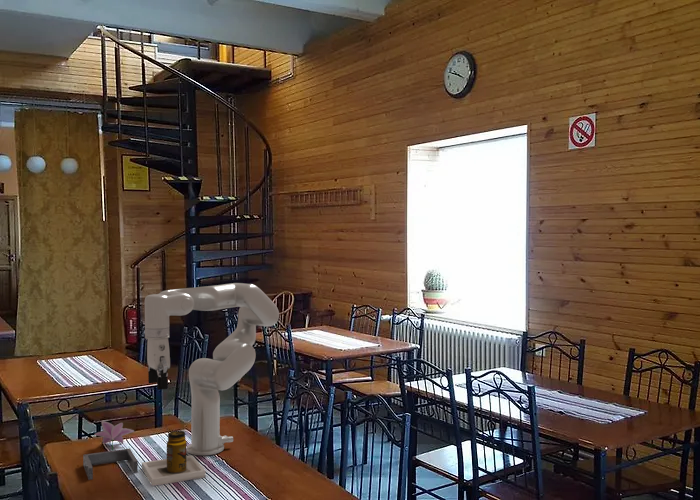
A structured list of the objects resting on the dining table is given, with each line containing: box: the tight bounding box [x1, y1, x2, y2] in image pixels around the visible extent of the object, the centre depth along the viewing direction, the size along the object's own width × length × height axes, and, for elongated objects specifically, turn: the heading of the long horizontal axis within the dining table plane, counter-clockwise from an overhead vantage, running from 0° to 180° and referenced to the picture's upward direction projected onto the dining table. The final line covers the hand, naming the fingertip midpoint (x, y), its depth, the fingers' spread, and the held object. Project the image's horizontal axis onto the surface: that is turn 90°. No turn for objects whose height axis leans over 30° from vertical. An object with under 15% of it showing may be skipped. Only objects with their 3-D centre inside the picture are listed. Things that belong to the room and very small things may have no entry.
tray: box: [141, 454, 207, 487], centre depth 209 cm, size 16×16×2 cm
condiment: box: [157, 430, 190, 476], centre depth 209 cm, size 7×8×12 cm
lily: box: [93, 420, 135, 451], centre depth 234 cm, size 12×12×10 cm
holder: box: [82, 447, 139, 481], centre depth 212 cm, size 14×14×4 cm
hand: (157, 385), depth 216 cm, fingers open, 9 cm apart
